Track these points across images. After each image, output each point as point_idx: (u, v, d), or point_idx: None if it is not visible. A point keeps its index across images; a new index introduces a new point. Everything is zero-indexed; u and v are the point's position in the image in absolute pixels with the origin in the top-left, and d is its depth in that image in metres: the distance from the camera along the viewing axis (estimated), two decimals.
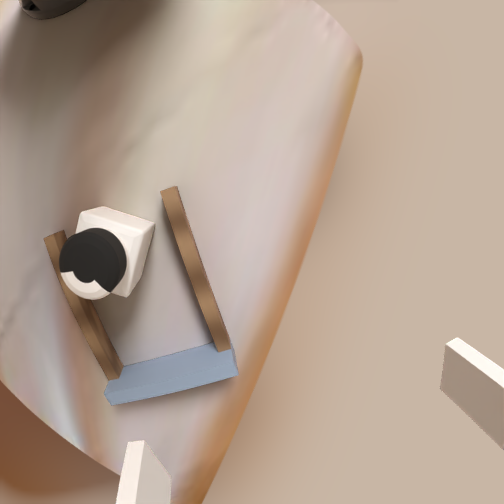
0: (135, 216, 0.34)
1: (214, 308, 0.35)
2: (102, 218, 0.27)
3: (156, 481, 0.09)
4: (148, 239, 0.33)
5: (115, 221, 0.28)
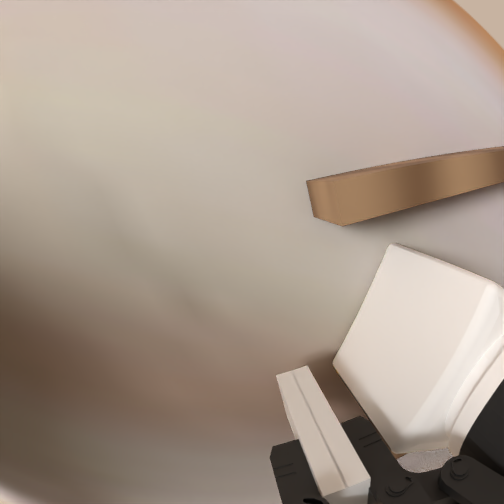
0: (371, 289, 0.14)
1: None
2: (430, 401, 0.08)
3: None
4: None
5: (444, 364, 0.08)
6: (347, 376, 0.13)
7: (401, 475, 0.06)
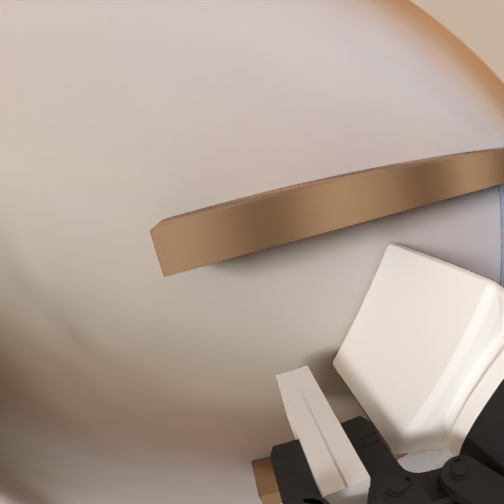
0: (371, 289, 0.14)
1: (478, 158, 0.11)
2: (430, 401, 0.08)
3: None
4: None
5: (444, 364, 0.08)
6: (347, 376, 0.13)
7: (401, 475, 0.06)
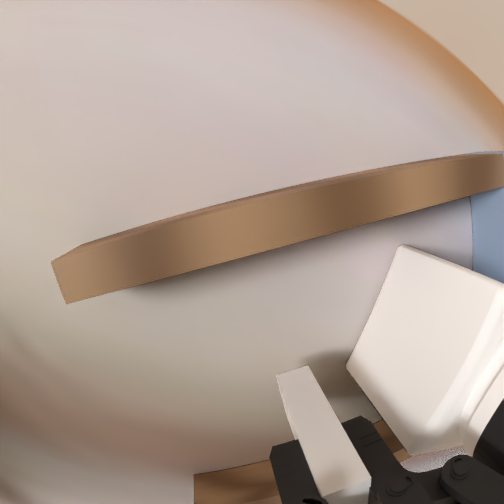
0: (382, 292, 0.14)
1: (428, 169, 0.10)
2: (444, 404, 0.08)
3: None
4: None
5: (457, 367, 0.08)
6: (361, 379, 0.13)
7: (401, 475, 0.06)
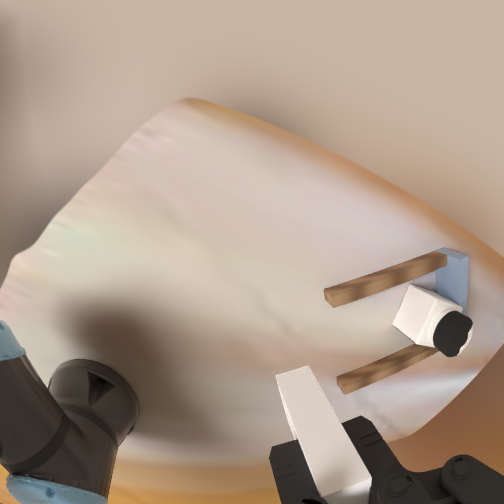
0: (404, 299, 0.43)
1: (420, 266, 0.39)
2: (423, 327, 0.37)
3: None
4: (425, 290, 0.41)
5: (425, 318, 0.37)
6: (398, 326, 0.42)
7: (402, 475, 0.06)
